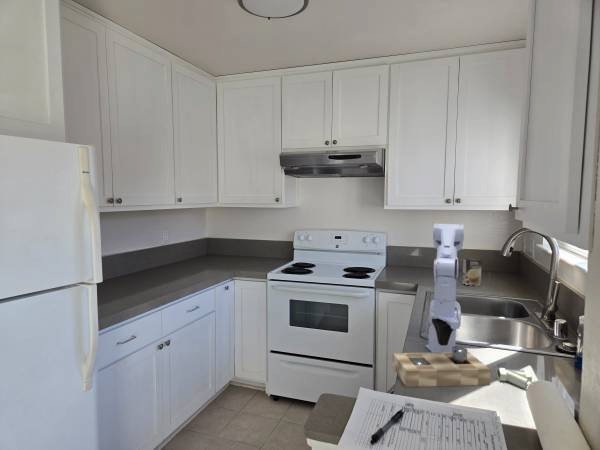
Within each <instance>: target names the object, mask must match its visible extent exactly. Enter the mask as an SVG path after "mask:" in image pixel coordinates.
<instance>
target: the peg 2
mask: <svg viewBox="0 0 600 450" xmlns="http://www.w3.org/2000/svg"><path fill="white" fill-rule="evenodd" d="M467 352H468V349H467V348H466V347H464V346H461V345H455V346H453V347H452V357H451V361H452V362H453V363H454V364H467Z"/></svg>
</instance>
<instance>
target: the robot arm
mask: <svg viewBox="0 0 600 450" xmlns="http://www.w3.org/2000/svg"><path fill="white" fill-rule="evenodd" d="M432 230H433V231H432V240H433V246H434V248H435V249H436V250H437V251H436V257H435V259H434V261H433V277H434V279H433V281H434V296H433V297H434V298H433V299H432V300H431V301H430V304H429V305H430V307H429V313H428V314H429V315H428V317H429V318H428V323H429V324H430V326H429V329H428V344H426V345H425V347H426V348H427V349H428V350H429V351H430V352H452V347H453V346H456V343H457V342H456V338H457V337H456V336H457V330H458V329H459V330H460V327H461V322H462V321H461V319H462V310H461V305H460V302H458V301H457V300H456V294H457V293H456V290H457V279H458V277H459V258H458V251H460V250H463V246H464V240H465V237H464V236H465V226H464V224H463V223H459V224H456V223H455V224H454V223H437V222H435V223H434V224H433V228H432Z"/></svg>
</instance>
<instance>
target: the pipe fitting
mask: <svg viewBox="0 0 600 450" xmlns="http://www.w3.org/2000/svg"><path fill="white" fill-rule="evenodd" d="M496 376H497V380H498V381H501V382H509V383H510V384H511V385H512V384H513V385H514V386H517V387H519V388H521V389H523V390H525V391H527V390H526V388H527V386H528V385H529V384H530V383H532V384H533V378H532V377H533V376H532V373H531V370H524V369H523V370H521V369H510V368H505V367H497V369H496Z"/></svg>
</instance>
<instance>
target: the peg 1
mask: <svg viewBox="0 0 600 450" xmlns="http://www.w3.org/2000/svg"><path fill="white" fill-rule="evenodd" d="M412 363H413V364H414V365H427V361H425V360H423V359H418V358H416V359H413V360H412Z"/></svg>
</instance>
